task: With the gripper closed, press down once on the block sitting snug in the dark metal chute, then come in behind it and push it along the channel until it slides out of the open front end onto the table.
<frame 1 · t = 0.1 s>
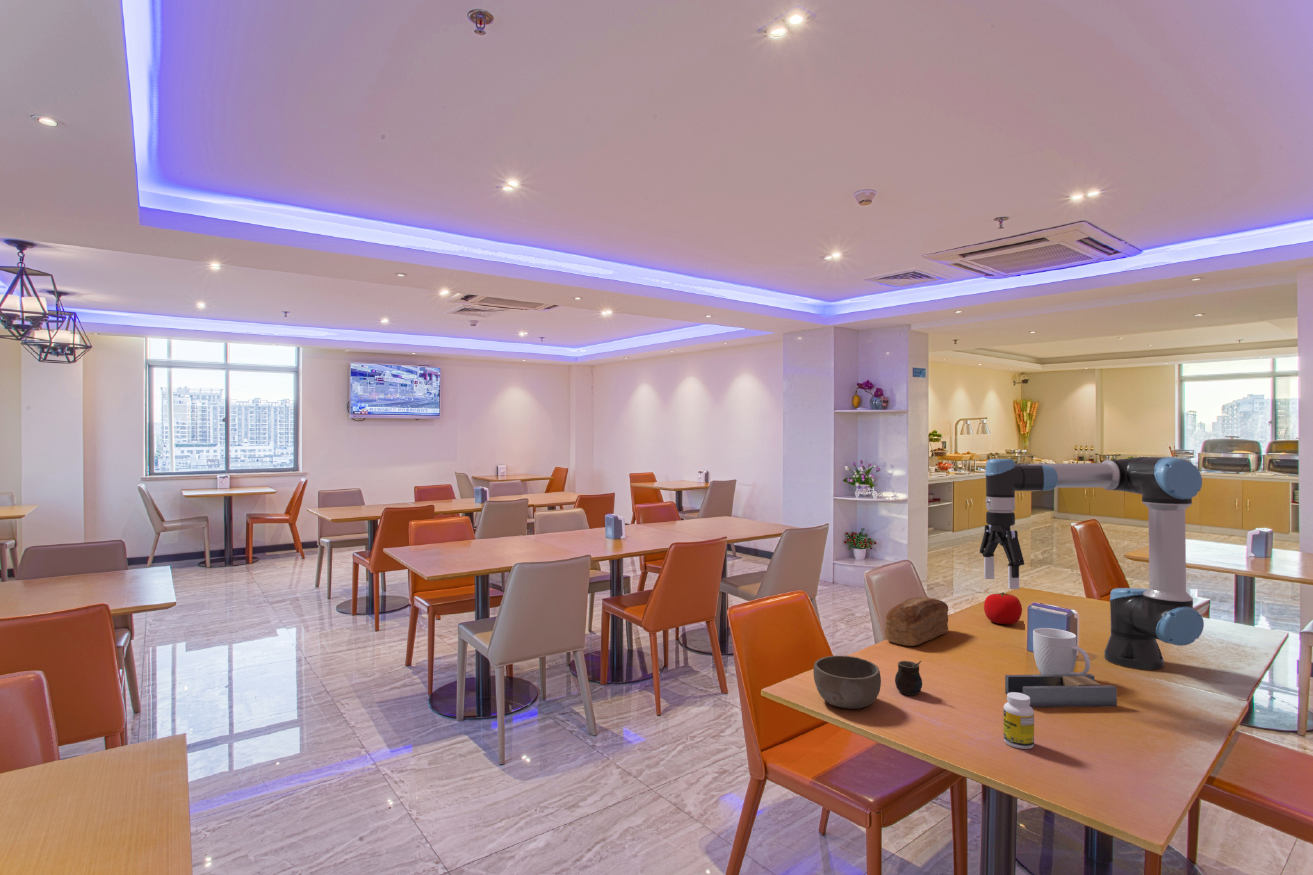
hand: (1001, 583, 192), 28 cm above the table, fingers open, 13 cm apart
chute: (1059, 699, 177), on the table
tomato: (1003, 623, 251), on the table
bowl: (846, 703, 176), on the table
mate gourd: (909, 693, 182), on the table
mug: (1058, 679, 192), on the table
bread: (917, 638, 234), on the table
block: (1081, 697, 177), point 1 cm above the table, touching chute
pill bottle: (1018, 744, 151), on the table
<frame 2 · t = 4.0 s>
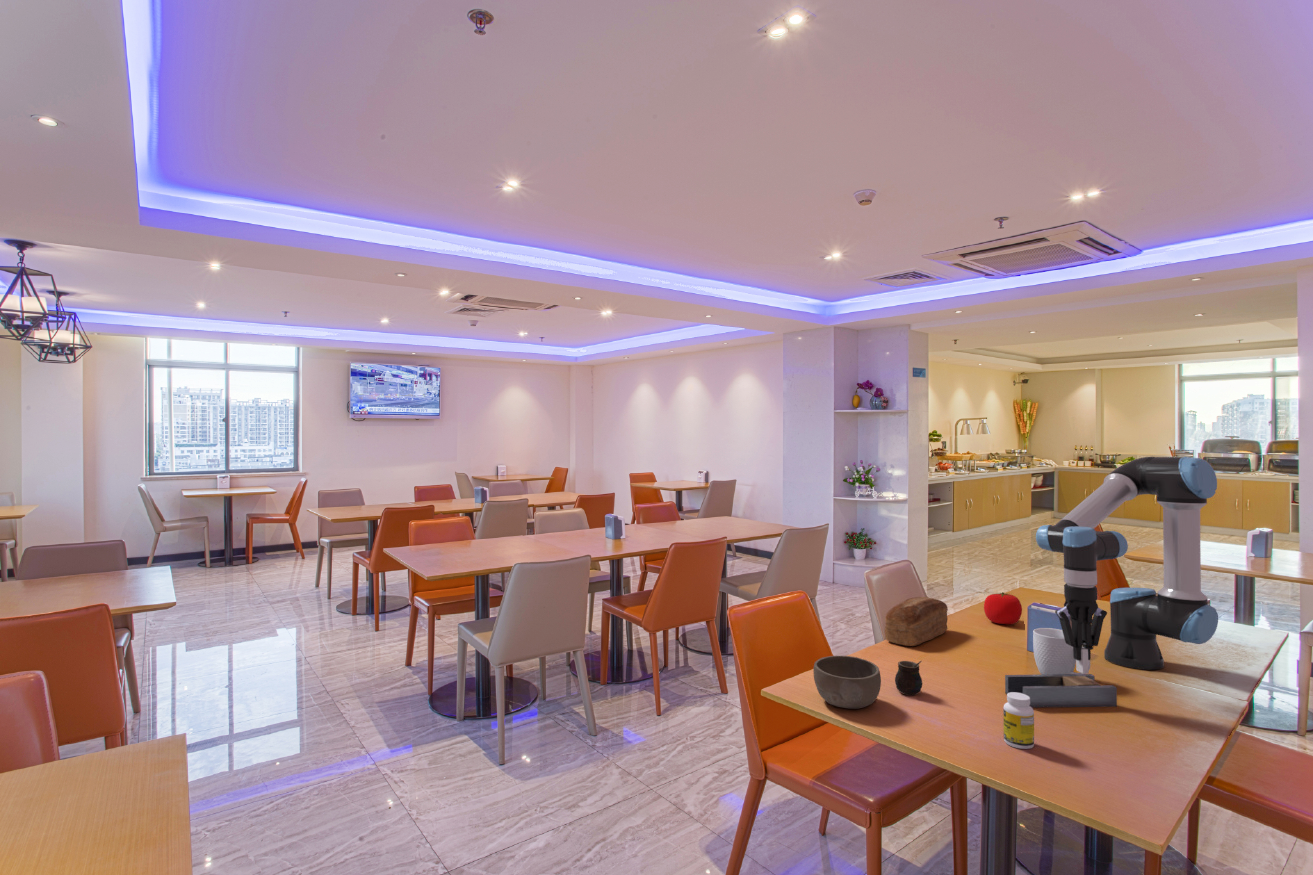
hand: (1082, 671, 177), 7 cm above the table, fingers closed
nothing on the table moved.
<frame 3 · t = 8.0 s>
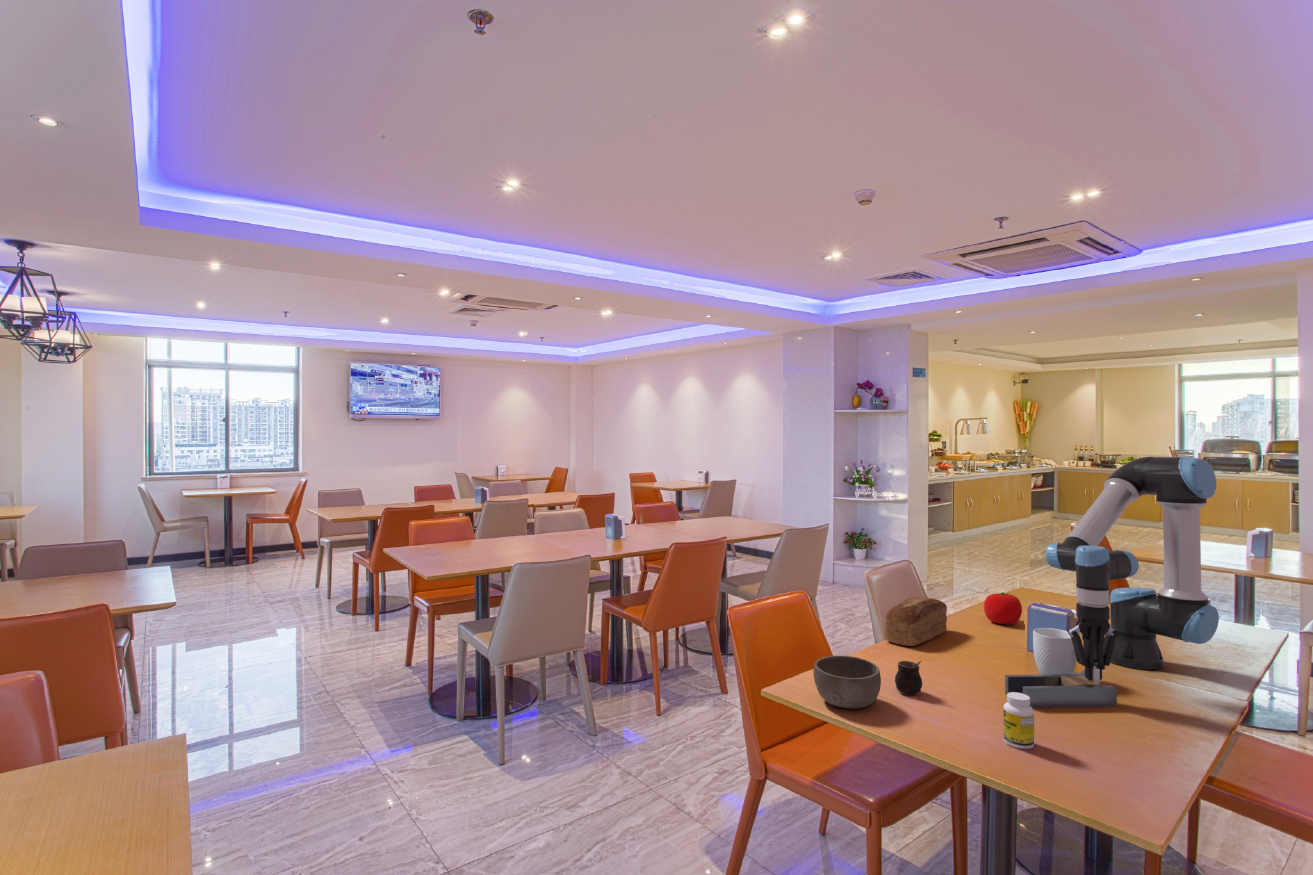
hand: (1093, 691, 177), 2 cm above the table, fingers closed
block: (1079, 697, 177), point 1 cm above the table, touching gripper
everything else where it was.
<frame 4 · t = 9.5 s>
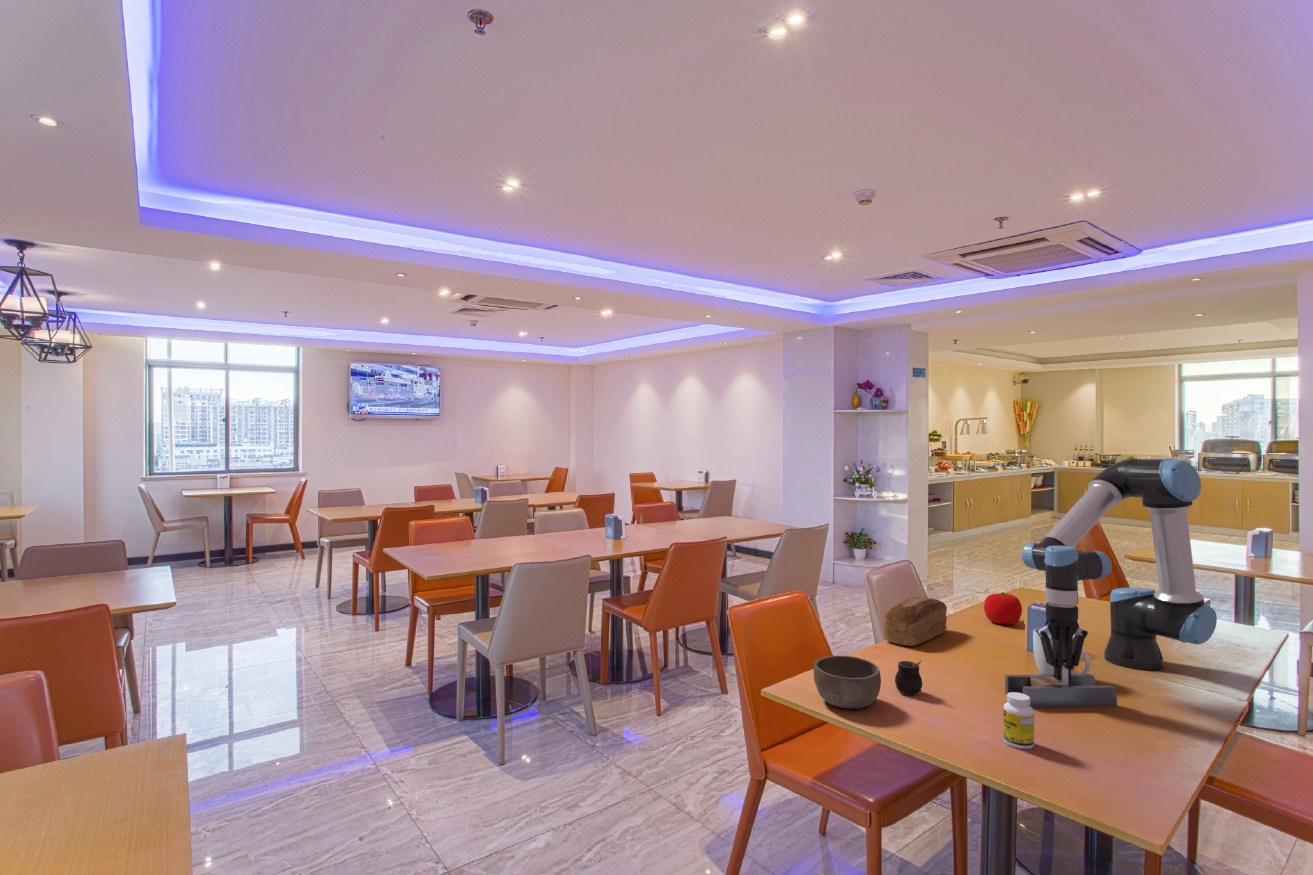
hand: (1062, 691, 176), 2 cm above the table, fingers closed
block: (1048, 697, 176), point 1 cm above the table, touching gripper
everything else where it was.
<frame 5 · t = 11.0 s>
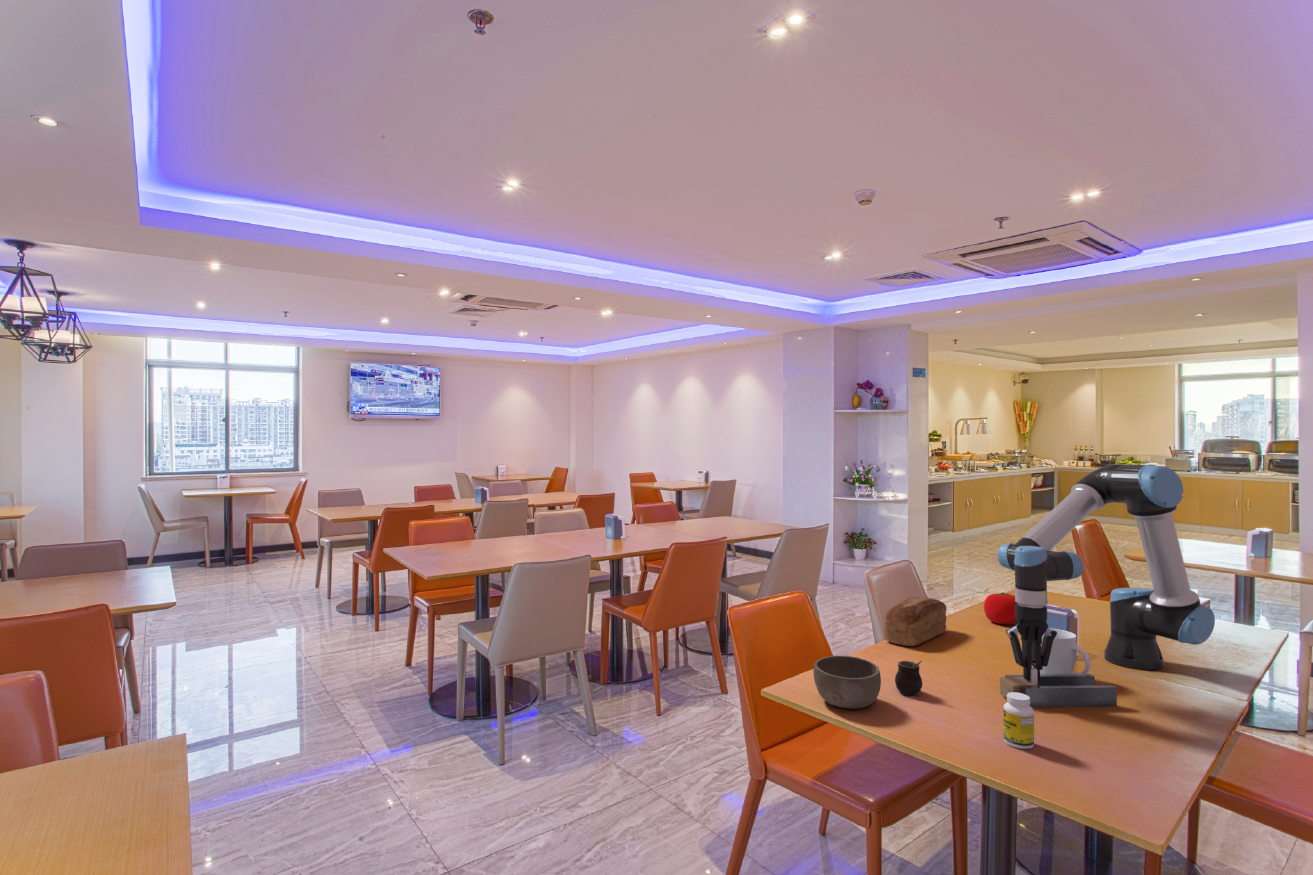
hand: (1031, 692, 176), 2 cm above the table, fingers closed
block: (1017, 697, 176), point 1 cm above the table, touching gripper
everything else where it was.
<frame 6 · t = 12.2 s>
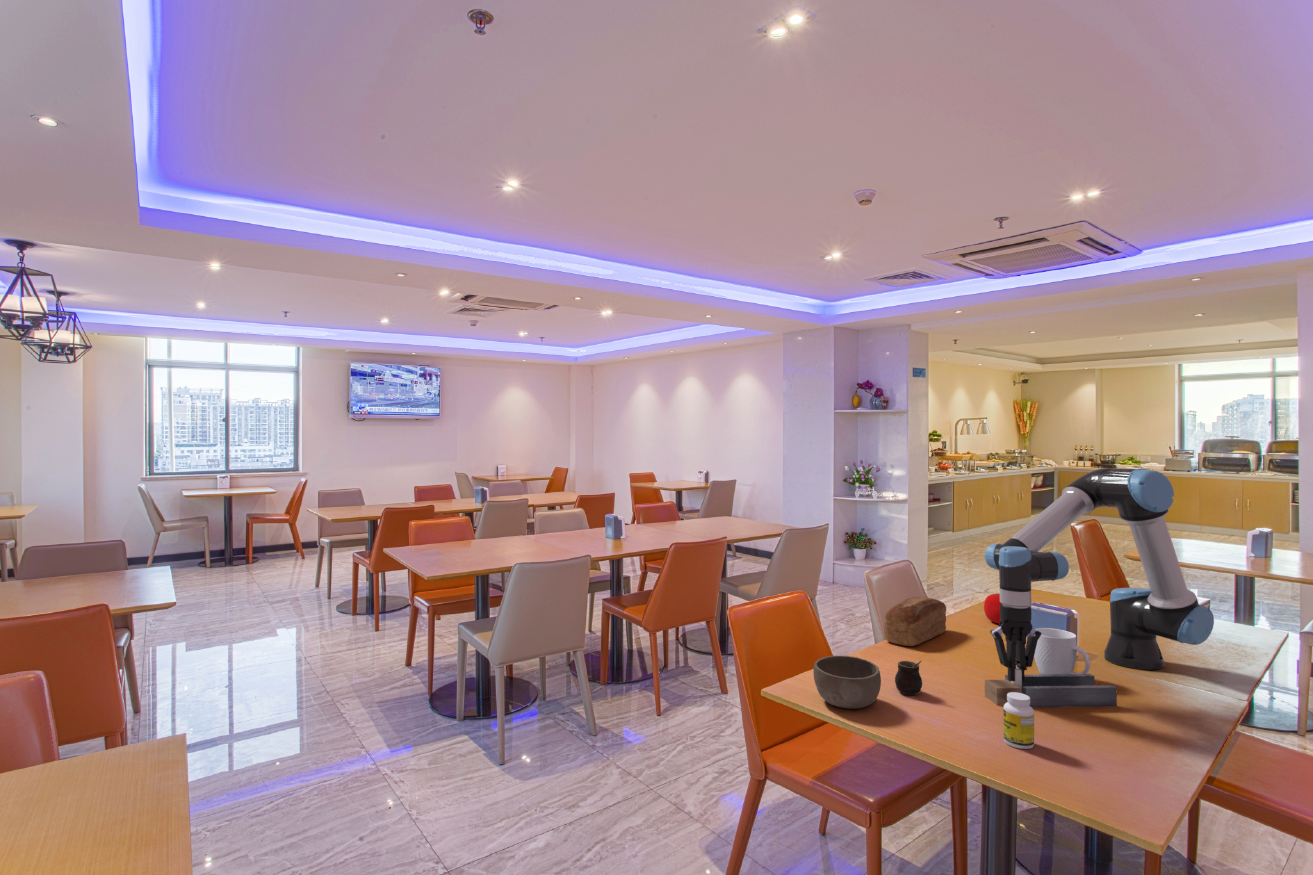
hand: (1016, 692, 176), 2 cm above the table, fingers closed
block: (1002, 700, 176), on the table, touching gripper
everything else where it was.
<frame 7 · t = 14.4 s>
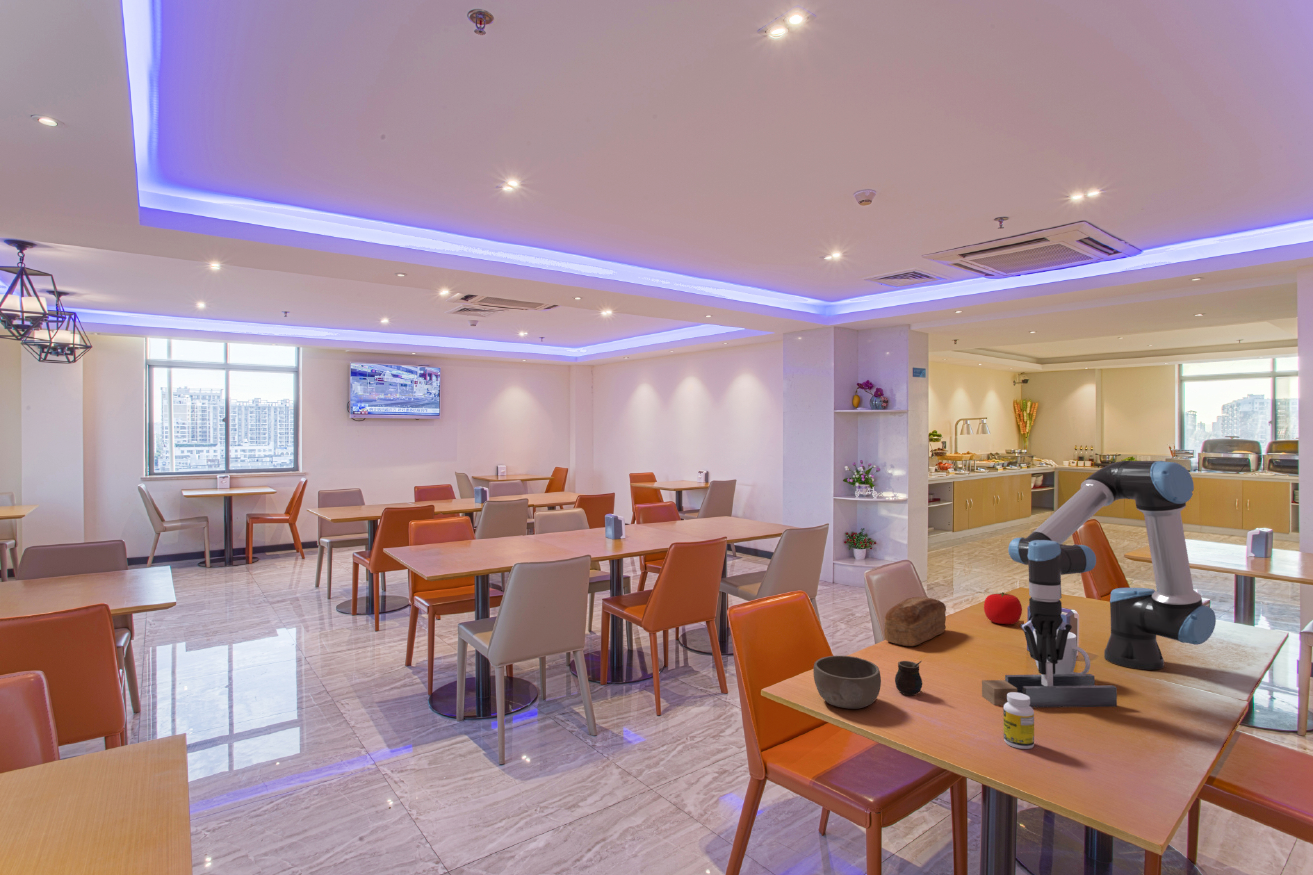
hand: (1047, 685, 177), 4 cm above the table, fingers closed
block: (999, 701, 176), on the table
everything else where it was.
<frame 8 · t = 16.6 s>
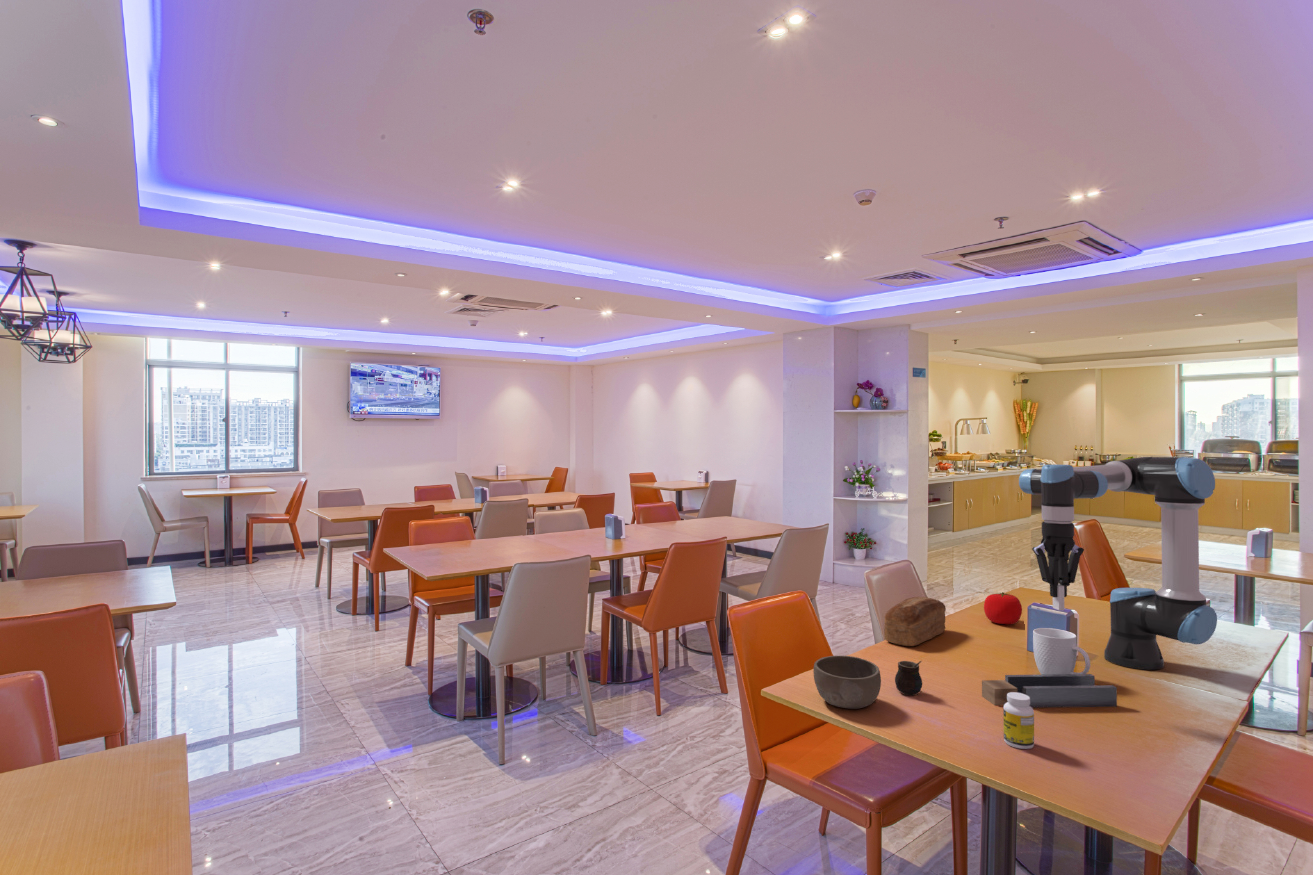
hand: (1058, 608, 177), 24 cm above the table, fingers closed
nothing on the table moved.
at the end: block inside the target area (4.6 cm from its centre), on the table; block tilted 0°; the gripper is holding nothing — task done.
